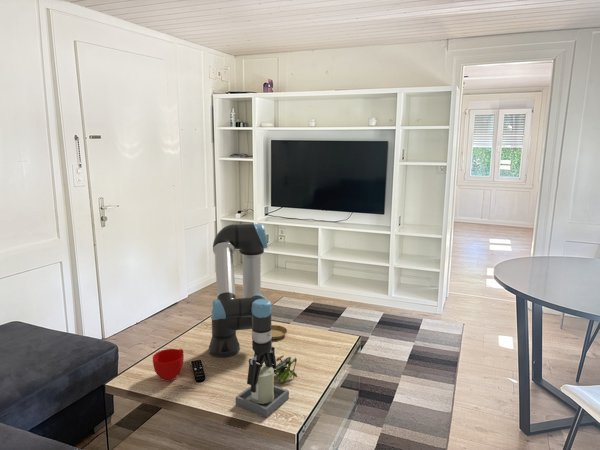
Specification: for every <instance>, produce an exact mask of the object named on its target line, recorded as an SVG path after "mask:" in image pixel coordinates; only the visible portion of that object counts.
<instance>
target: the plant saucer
mask: <svg viewBox="0 0 600 450" xmlns="http://www.w3.org/2000/svg"><path fill="white" fill-rule="evenodd" d="M271 328H272V329H271V334H272V338H271V340H278V339H282V338H283V337H284V336H286V334H287V332H288V329H287V328H286V327H284V326H282V325H277V324H276V325H275V324H271Z"/></svg>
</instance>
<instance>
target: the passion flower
mask: <svg viewBox="0 0 600 450" xmlns="http://www.w3.org/2000/svg"><path fill="white" fill-rule="evenodd" d="M284 356H285V355H280V356H279V357H277V358H276V362H278V361H280V362H279V363H276V366H277V368H276V369H274V370H276V371H275V373H274V375H277V374H278V375H277V378H276V381H277V383H278V384H279V383H280V384H281V383H283V382H287V381H288V380H289V379H290V378H292V376H293V378H295V377H296V378H297V377H298V375H297V374H296V372H295V370H296V369H295V368H296V364H297V361H298V359H297V357H294V358H293V359H292V356H288V357H286V358H285V359H283V360H282V358H284ZM293 363H294V366H293V369H291V367H292V364H293Z"/></svg>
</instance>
